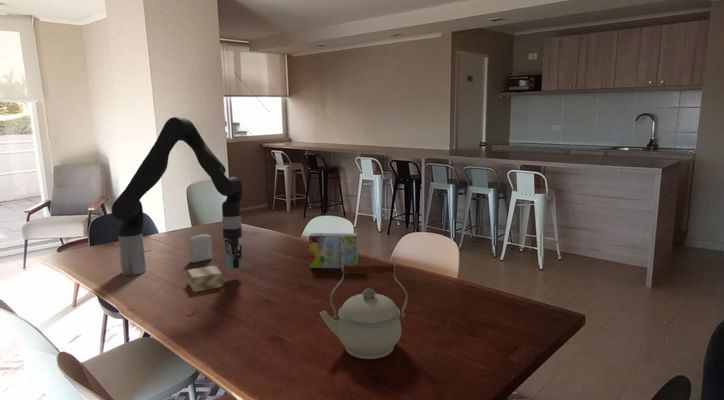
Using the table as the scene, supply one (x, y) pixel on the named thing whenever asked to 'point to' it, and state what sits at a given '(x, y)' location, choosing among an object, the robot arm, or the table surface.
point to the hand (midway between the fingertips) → (234, 265)
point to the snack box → (333, 250)
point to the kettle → (367, 318)
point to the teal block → (230, 261)
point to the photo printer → (200, 248)
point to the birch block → (205, 278)
